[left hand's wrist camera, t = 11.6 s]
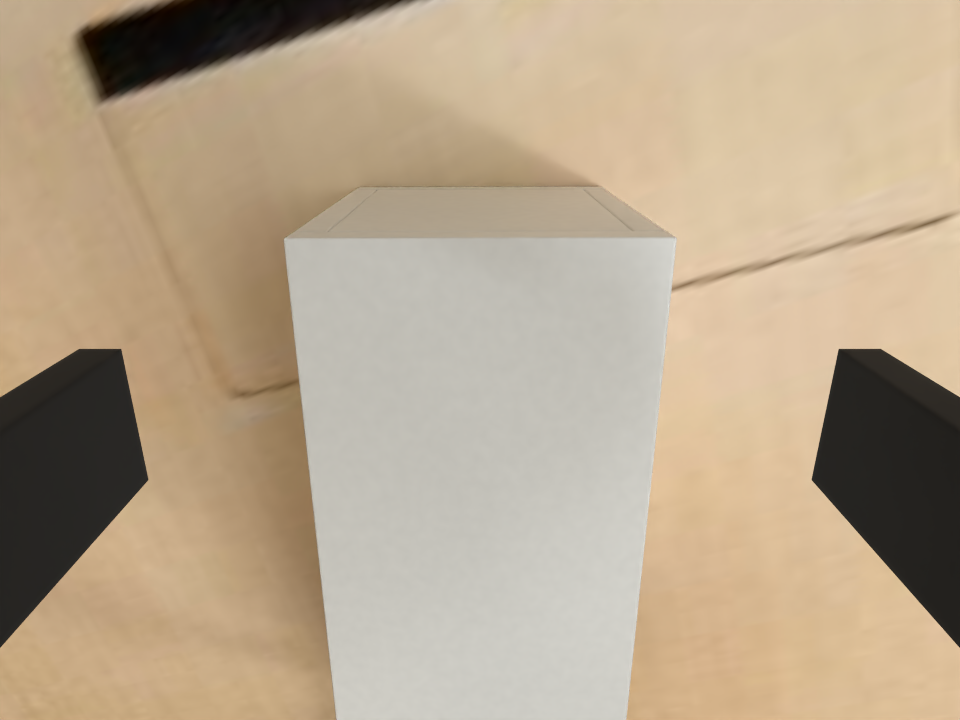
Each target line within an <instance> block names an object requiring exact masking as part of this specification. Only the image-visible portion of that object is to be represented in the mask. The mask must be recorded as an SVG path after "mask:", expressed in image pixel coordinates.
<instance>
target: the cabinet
mask: <svg viewBox="0 0 960 720" xmlns="http://www.w3.org/2000/svg"><path fill="white" fill-rule="evenodd" d="M676 241H677V239H676V237H675V236H673V235H672V234H670V233H669V232H667V231H665V230H664V229H662V228H661V227H659V226H658V225H656V224H655V223H653V222H652V221H651V220H649V219H648V218H646V217H645V216H643V215H642V214H640V213H639V212H638V211H636V210H635V209H633V208H632V207H630V206H629V205H627V204H626V203H624V202H623V201H622V200H620V199H619V198H617V197H616V196H614V195H613V194H611V193H610V192H609V191H607V190H606V189H604V188H603V187H601V186H599V187H359V188H357V189H356V190H354V191H352V192H351V193H349V194H348V195H347V196H345V197H344V198H342V199H341V200H339V201H338V202H336V203H335V204H333V205H332V206H331V207H329V208H328V209H326V210H325V211H323V212H322V213H320V214H319V215H317V216H316V217H315V218H313V219H312V220H310V221H309V222H307V223H306V224H304V225H303V226H302V227H300V228H299V229H297V230H296V231H294V232H293V233H291V234H290V235H288V236H287V237H285V238H284V248H285V257H286V266H287V275H288V284H289V293H290V303H291V312H292V321H293V330H294V339H295V348H296V357H297V366H298V375H299V385H300V394H301V403H302V412H303V421H304V430H305V439H306V448H307V457H308V467H309V476H310V485H311V494H312V503H313V512H314V521H315V530H316V539H317V549H318V558H319V567H320V576H321V585H322V594H323V603H324V612H325V621H326V631H327V640H328V649H329V658H330V667H331V676H332V685H333V694H334V703H335V713H336V720H626V717H627V707H628V698H629V688H630V679H631V669H632V660H633V650H634V641H635V631H636V622H637V612H638V603H639V593H640V584H641V574H642V565H643V555H644V546H645V536H646V527H647V517H648V508H649V498H650V489H651V479H652V470H653V460H654V451H655V441H656V432H657V422H658V412H659V403H660V393H661V384H662V374H663V365H664V355H665V346H666V336H667V327H668V317H669V308H670V298H671V289H672V279H673V270H674V260H675V251H676Z"/></svg>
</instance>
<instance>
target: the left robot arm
mask: <svg viewBox="0 0 960 720" xmlns="http://www.w3.org/2000/svg"><path fill="white" fill-rule="evenodd" d="M147 481H148V476H147V471H146V466H145V461H144V457H143V452H142V447H141V442H140V437H139V433H138V428H137V423H136V418H135V413H134V409H133V404H132V399H131V394H130V389H129V385H128V380H127V375H126V370H125V365H124V360H123V356H122V351H121V349H79V350H77V351H75V352H74V353H72V354H70V355H69V356H67V357H65V358H64V359H62V360H61V361H59V362H57V363H56V364H54V365H52V366H51V367H49V368H47V369H46V370H44V371H43V372H41V373H39V374H38V375H36V376H34V377H33V378H31V379H29V380H28V381H26V382H25V383H23V384H21V385H20V386H18V387H16V388H15V389H13V390H11V391H10V392H8V393H7V394H5V395H3V396H2V397H0V647H1V646H2V645H3V644H4V643H5V642H6V641H7V639H8V638H9V637H10V636H11V635H12V634H13V633H14V631H15V630H16V629H17V628H18V627H19V626H20V625H21V624H22V622H23V621H24V620H25V619H26V618H27V617H28V616H29V614H30V613H31V612H32V611H33V610H34V609H35V608H36V607H37V605H38V604H39V603H40V602H41V601H42V600H43V599H44V597H45V596H46V595H47V594H48V593H49V592H50V591H51V590H52V588H53V587H54V586H55V585H56V584H57V583H58V582H59V580H60V579H61V578H62V577H63V576H64V575H65V574H66V573H67V571H68V570H69V569H70V568H71V567H72V566H73V565H74V564H75V562H76V561H77V560H78V559H79V558H80V557H81V556H82V554H83V553H84V552H85V551H86V550H87V549H88V548H89V547H90V545H91V544H92V543H93V542H94V541H95V540H96V539H97V537H98V536H99V535H100V534H101V533H102V532H103V531H104V530H105V528H106V527H107V526H108V525H109V524H110V523H111V522H112V520H113V519H114V518H115V517H116V516H117V515H118V514H119V513H120V511H121V510H122V509H123V508H124V507H125V506H126V505H127V503H128V502H129V501H130V500H131V499H132V498H133V497H134V496H135V494H136V493H137V492H138V491H139V490H140V489H141V488H142V486H143V485H144V484H145V483H146V482H147ZM812 481H813V482H814V483H815V484H816V485H817V486H818V488H819V489H820V490H821V491H822V492H823V493H824V494H825V496H826V497H827V498H828V499H829V500H830V501H831V502H832V503H833V505H834V506H835V507H836V508H837V509H838V510H839V511H840V513H841V514H842V515H843V516H844V517H845V518H846V519H847V520H848V522H849V523H850V524H851V525H852V526H853V527H854V528H855V530H856V531H857V532H858V533H859V534H860V535H861V536H862V537H863V539H864V540H865V541H866V542H867V543H868V544H869V545H870V547H871V548H872V549H873V550H874V551H875V552H876V553H877V554H878V556H879V557H880V558H881V559H882V560H883V561H884V562H885V564H886V565H887V566H888V567H889V568H890V569H891V570H892V571H893V573H894V574H895V575H896V576H897V577H898V578H899V579H900V581H901V582H902V583H903V584H904V585H905V586H906V587H907V588H908V590H909V591H910V592H911V593H912V594H913V595H914V596H915V597H916V599H917V600H918V601H919V602H920V603H921V604H922V605H923V607H924V608H925V609H926V610H927V611H928V612H929V613H930V614H931V616H932V617H933V618H934V619H935V620H936V621H937V622H938V624H939V625H940V626H941V627H942V628H943V629H944V630H945V631H946V633H947V634H948V635H949V636H950V637H951V638H952V639H953V641H954V642H955V643H956V644H957V645H958V646H959V647H960V397H958V396H957V395H955V394H953V393H952V392H950V391H949V390H947V389H945V388H944V387H942V386H940V385H939V384H937V383H935V382H934V381H932V380H931V379H929V378H927V377H926V376H924V375H922V374H921V373H919V372H917V371H916V370H914V369H913V368H911V367H909V366H908V365H906V364H904V363H903V362H901V361H899V360H898V359H896V358H895V357H893V356H891V355H890V354H888V353H886V352H885V351H883V350H881V349H839V351H838V356H837V360H836V365H835V370H834V375H833V380H832V385H831V389H830V394H829V399H828V404H827V409H826V413H825V418H824V423H823V428H822V433H821V437H820V442H819V447H818V452H817V457H816V461H815V466H814V471H813V476H812Z"/></svg>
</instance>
